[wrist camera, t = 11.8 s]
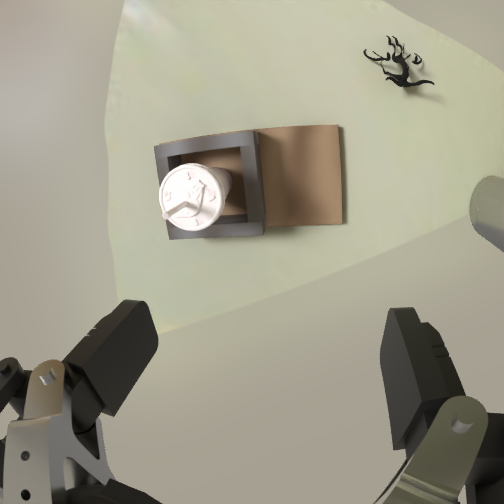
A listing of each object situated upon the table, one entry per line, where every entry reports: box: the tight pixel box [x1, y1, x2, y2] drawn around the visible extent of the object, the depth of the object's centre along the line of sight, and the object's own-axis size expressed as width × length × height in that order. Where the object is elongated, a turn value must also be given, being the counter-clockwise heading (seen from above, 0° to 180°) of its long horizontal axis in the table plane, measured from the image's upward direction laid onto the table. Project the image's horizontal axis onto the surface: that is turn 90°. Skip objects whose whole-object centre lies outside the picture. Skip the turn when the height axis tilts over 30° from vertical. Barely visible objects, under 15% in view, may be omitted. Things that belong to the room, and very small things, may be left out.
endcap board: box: [154, 125, 342, 240], centre depth 32 cm, size 22×12×5 cm, turn 96°
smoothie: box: [159, 163, 232, 231], centre depth 28 cm, size 6×6×14 cm
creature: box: [364, 36, 434, 87], centre depth 24 cm, size 8×5×8 cm
